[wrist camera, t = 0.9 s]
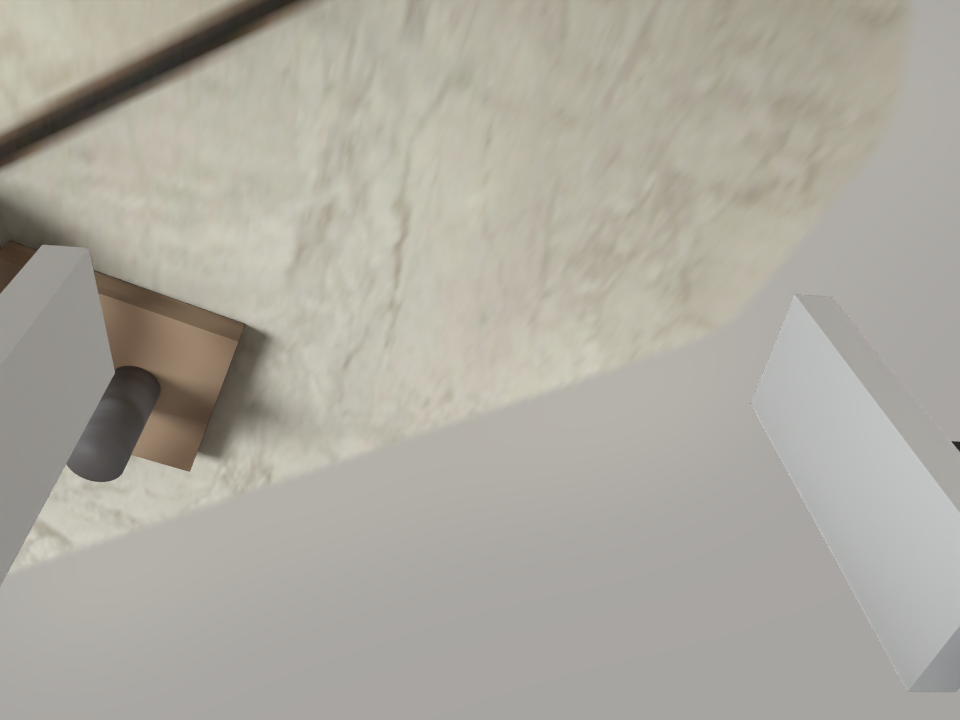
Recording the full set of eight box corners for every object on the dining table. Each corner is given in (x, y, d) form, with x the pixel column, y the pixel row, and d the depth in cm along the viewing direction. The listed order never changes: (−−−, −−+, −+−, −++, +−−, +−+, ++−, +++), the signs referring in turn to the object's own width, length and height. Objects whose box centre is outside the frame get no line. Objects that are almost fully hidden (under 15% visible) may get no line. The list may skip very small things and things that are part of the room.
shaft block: (-15, 389, 51) (-91, 485, 43) (9, 240, 45) (-75, 324, 37) (197, 452, 55) (160, 550, 47) (245, 324, 49) (211, 413, 41)
